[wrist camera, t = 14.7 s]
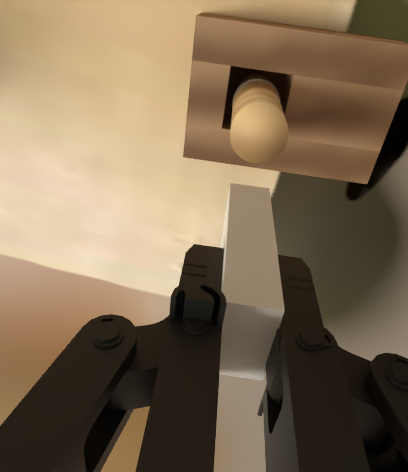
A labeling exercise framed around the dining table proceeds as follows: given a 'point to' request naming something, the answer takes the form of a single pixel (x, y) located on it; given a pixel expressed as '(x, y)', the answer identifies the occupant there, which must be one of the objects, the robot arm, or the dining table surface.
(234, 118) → the peg
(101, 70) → the dining table surface
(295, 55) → the seat block
